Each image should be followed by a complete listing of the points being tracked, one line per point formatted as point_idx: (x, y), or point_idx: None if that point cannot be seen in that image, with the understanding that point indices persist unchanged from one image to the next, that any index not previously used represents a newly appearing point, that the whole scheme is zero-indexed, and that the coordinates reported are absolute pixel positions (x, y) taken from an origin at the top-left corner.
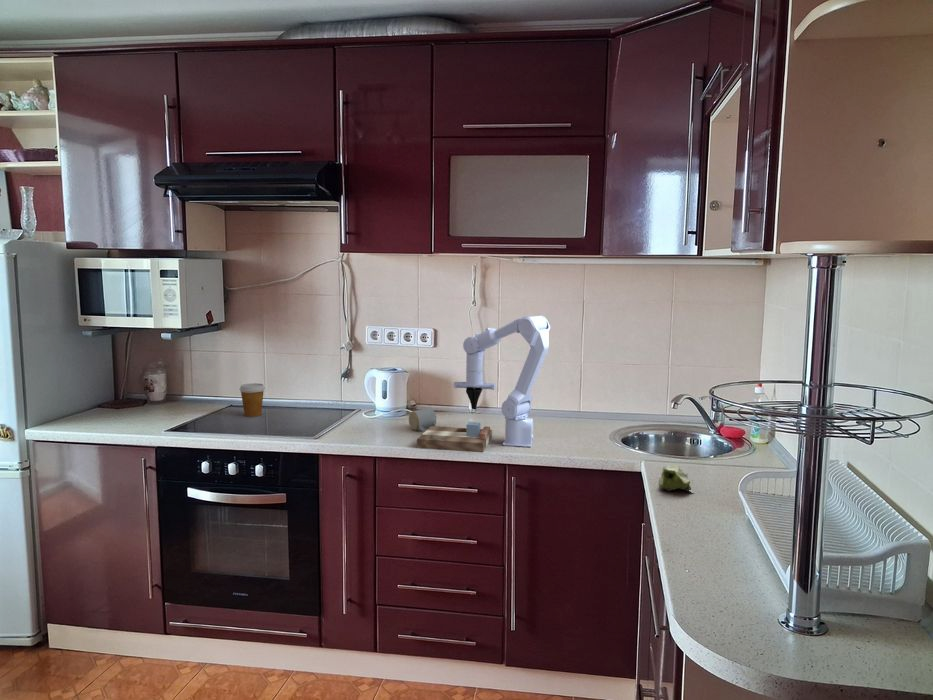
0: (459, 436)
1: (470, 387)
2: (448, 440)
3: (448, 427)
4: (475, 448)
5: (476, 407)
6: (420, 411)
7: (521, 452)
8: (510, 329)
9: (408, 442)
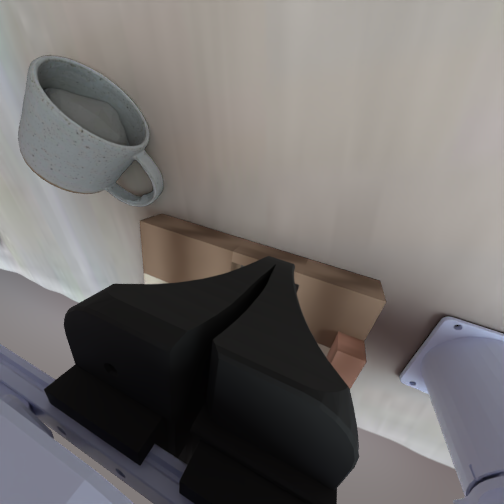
0: None
1: (107, 457)
2: None
3: (197, 245)
4: None
5: (294, 269)
6: (41, 159)
7: (445, 447)
8: None
9: None
